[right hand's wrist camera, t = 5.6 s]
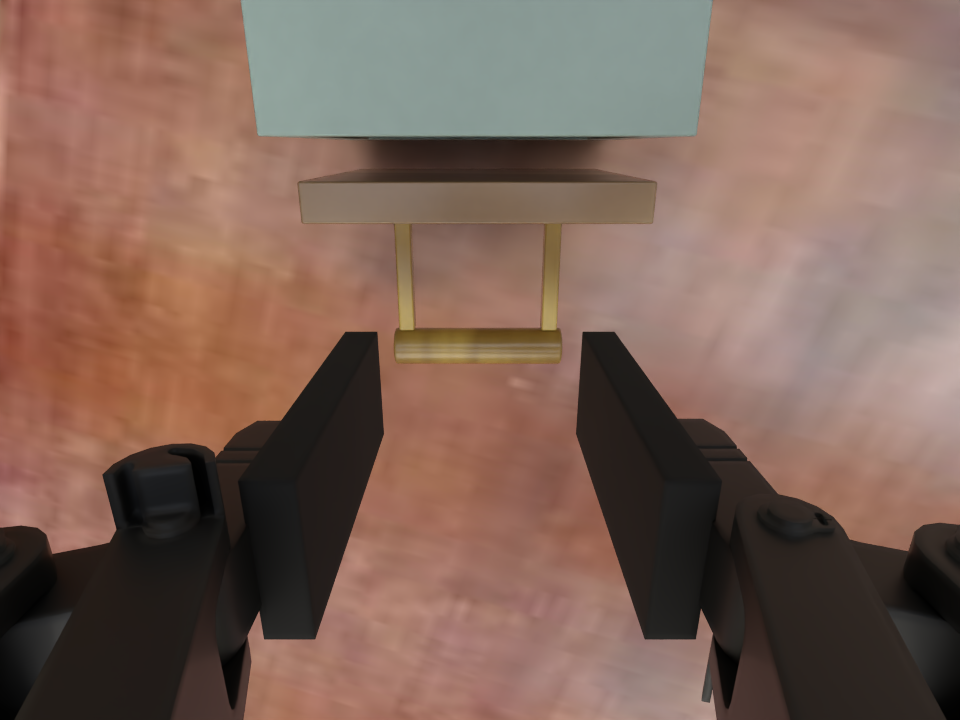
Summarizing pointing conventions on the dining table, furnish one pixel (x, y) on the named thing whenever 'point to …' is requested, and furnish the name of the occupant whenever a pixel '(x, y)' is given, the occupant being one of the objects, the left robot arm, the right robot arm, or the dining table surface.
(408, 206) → the drawer
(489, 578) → the dining table surface
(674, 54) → the cabinet
